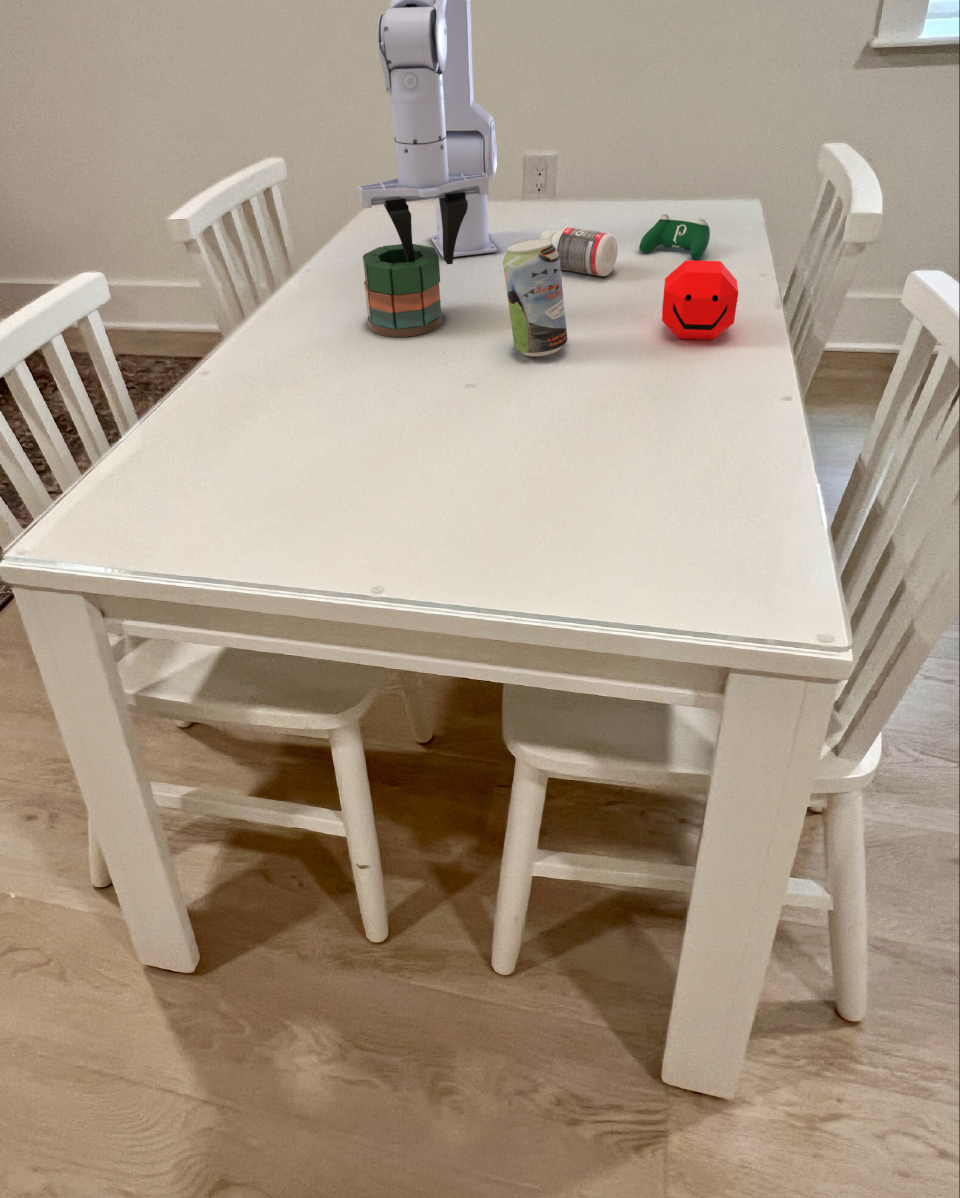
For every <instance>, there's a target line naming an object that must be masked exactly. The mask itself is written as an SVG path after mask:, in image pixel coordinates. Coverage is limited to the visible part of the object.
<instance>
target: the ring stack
mask: <svg viewBox="0 0 960 1198" xmlns="http://www.w3.org/2000/svg"><path fill="white" fill-rule="evenodd" d="M398 263H404V262H397V263H394V264H398ZM363 285H364V295H365V303H366V311H367V326H368V328H369V330H370V331H372V332H373V333H375V334H377V335H381V336H383V337H391V338H408V337H416V336H421V335H425V334H428V333H429V332H432V331H434V330H436V329H437V328H439V326H440V325H441V324H442V308H441V307H442V305H441V304H442V303H441V291H440V282H439V283H438V284H436V285H435V286H433V287H431V288H429V289H427V290H426V291H421V292H418V293H410V294H401V295H394V294H393V295H388V294H384V293H379V292H374V291H370V290H369V289H368V286H367V283H366V280H364V281H363Z"/></svg>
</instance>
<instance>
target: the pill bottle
mask: <svg viewBox="0 0 960 1198" xmlns="http://www.w3.org/2000/svg"><path fill="white" fill-rule="evenodd" d="M539 239H550V240H552V244H553V246H554V247H555V248H556V250H557V251H558V253H559V259H560V269H561V270H563V271H568V272H575V273H580V274H585V275H586V274H587V275H592V276H597V277H608V276H609V275H610V274H611V272H612V271H613V269H614V267H615V264H616V261H617V257H618V252H619V251H618V249H619V246H618V245H619V244H618V240H617V238H616V235H614V234H612V233H607V232H603V231H596V230H589V229H582V228H575V227H569V226H567V227H566V226H565V227H562V228H561V229H559V230H558V231H557V230H556V229H546V230H544V231H543V232H542V234H541V236H540V238H539Z"/></svg>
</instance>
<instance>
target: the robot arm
mask: <svg viewBox="0 0 960 1198" xmlns="http://www.w3.org/2000/svg"><path fill="white" fill-rule="evenodd" d="M471 6H472V5H471V0H390V3H389V7H387V8H386V11H385V14H383V13H380V14H379V16H378V20H377V27H376V28H377V30H376V31H377V32H376V33H377V49H378V54H379V60H380V61H379V62H380V64H381V68H382V72H383V78H384V87H385V91H386V93H388V94H389V97H390V98H389V100H390V110H391V120H392V133H393V144H394V154H395V163H396V173H397V178H394V179H389V180H384V181H381V182H375V183H371V184H363V185H358V194H359V201H360V206H361V208H362V209H371V208H372V207H373V206H382V205H383V206H384V208H385V211H386V212H387V214H388V216H389V218H390V219H391V222H392V224H393V226H394V228H395V230H396V232H397V235H398V237H399V240H400V242H401V243H400V244H402V246H403V249H404V252H405V256H406V261H407V262H413V261H415V256H414V250H413V244H414V243H413V229H412V228H413V227H412V213H411V211H410V208H409V204H408V202H419V201H427V200H434V204H435V219H436V221H435V222H436V234H433V235H431V236H430V239H431V241H432V243H433V244H434V246H435V248H436V249H437V251H438V252H439V254H440V255H441V258H443V260H444V262H445V263H446V265H454V258H456V257H464V256H473V255H482V254H490V253H497V251H498V249H497V247H496V246H495V244H494V243H493V241H491V239H490V238H489V236H490V235H489V206H488V195H489V194H490V193H489V181H492V180H493V178H494V177H495V176H496V174H497V167H498V143H497V142H498V141H497V135H496V123H495V121H494V117H493V115H491V114H490V113H489V112H488V111H487V110H486V109H484V108H483V107H482V106H481V105H479V104H478V103H477V102H476V101H475V100H474V99H475V98H474V71H473V69H474V67H473V41H472V40H473V39H472V38H473V37H472V36H473V35H472V7H471Z"/></svg>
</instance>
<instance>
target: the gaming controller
mask: <svg viewBox="0 0 960 1198" xmlns="http://www.w3.org/2000/svg"><path fill="white" fill-rule="evenodd" d="M710 236H711V229H710V225H709V224H708V223H707V221H706V219H705V218H699V219H698V222H693V221H685V220H678V219H671V218H670V216H669V215H668V214H667V213H662V214H661V216H660V218H659V219H658V221H657V222H655V224H654V225H653V226H652V227H651V228H650V229H648V231H647V232H646V233H645V234H644V235H643V237H642V238H641V241H640V243H639V245H638V246H639V247H638V250H639V251H640V252H641V253H643V254H645V253H650V252H651V251H653V250H655V249H657V248H658V247H660V246H663V247H664V248H666V249H672V248H676V249H677V248H678V249H682V250H684V251H687V252H690V258H691V260H692V261H699V260H700V259H701V258H702V257H703V255H704V254H705V253H706V250H707V247H708V246H709V242H710Z"/></svg>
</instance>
